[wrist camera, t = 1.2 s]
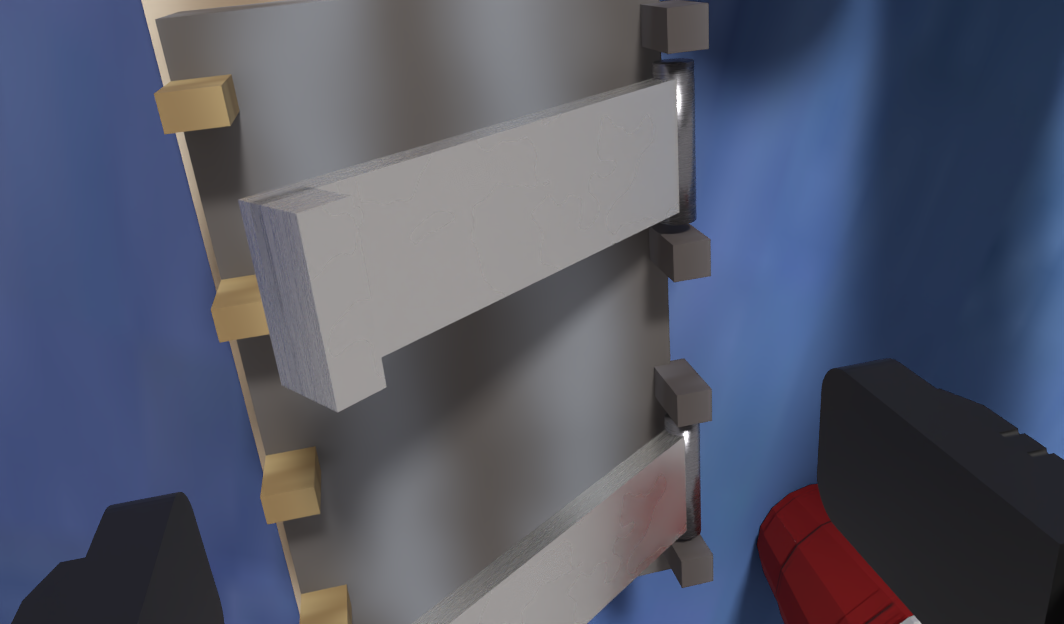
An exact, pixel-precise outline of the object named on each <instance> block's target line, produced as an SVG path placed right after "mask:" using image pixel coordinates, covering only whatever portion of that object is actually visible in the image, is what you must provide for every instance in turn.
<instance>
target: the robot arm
mask: <svg viewBox="0 0 1064 624" xmlns="http://www.w3.org/2000/svg"><path fill="white" fill-rule="evenodd" d="M817 481H818V488H819V493H820V497H821V500H822V503H823V506H824V508H825V511H826V513H827V515H828V517H829V518H830V520H831V521H832V523H833V524H834V525H835V527H836V528H837V529H838V530H839V531H840V532H841V534H842V535H843V536H844V537H845V538H846V539H847V540H848V541H849V543H850V544H851V545H852V546H853V547H854V548H855V549H856V550H857V552H858V553H859V554H860V555H861V556H862V557H863V558H864V559H865V561H866V562H867V563H868V564H869V565H870V566H871V567H872V569H873V570H874V571H875V572H876V573H877V574H878V575H879V576H880V578H881V579H882V580H883V581H884V582H885V583H886V584H887V585H888V587H889V588H890V589H891V590H892V591H893V592H894V593H895V594H896V596H897V597H898V598H899V599H900V600H901V601H902V602H903V603H904V605H905V606H906V607H907V608H908V609H909V610H910V611H911V612H912V614H913V615H914V616H915V617H916V618H917V619H918V620H919V621H920V623H921V624H1064V460H1063V459H1062V458H1060V457H1059V456H1057V455H1056V454H1054V453H1053V454H1048V453H1047V450H1046V448H1045V447H1044V446H1043V445H1041V444H1040V443H1038V442H1037V441H1035V440H1034V439H1032V438H1031V437H1029V436H1028V435H1026V434H1025V433H1024V434H1019V432H1018V428H1016V427H1015V426H1013V425H1012V424H1010V423H1009V422H1007V421H1006V420H1004V419H1003V418H1002V417H1000V416H999V415H997V414H996V413H994V412H993V411H991V410H990V409H988V408H987V407H985V406H984V405H982V404H979V403H976V402H974V401H971V400H968V399H966V398H963V397H961V396H958V395H955V394H953V393H950V392H947V391H945V390H942V389H936V388H935V387H933V386H932V385H931V384H929V383H928V382H926V381H925V380H923V379H922V378H921V377H919V376H918V375H916V374H915V373H914V372H912V371H911V370H909V369H908V368H907V367H905V366H904V365H902V364H901V363H900V362H898V361H896V360H894V359H891V358H885V359H880V360H875V361H870V362H865V363H859V364H854V365H849V366H844V367H838V368H834V369H831V370H829V371H828V372H827V374H826V375H825V377H824V379H823V383H822V391H821V410H820V429H819V448H818V467H817ZM11 624H224V617H223V611H222V606H221V602H220V598H219V595H218V592H217V588H216V585H215V582H214V578H213V575H212V572H211V569H210V565H209V562H208V559H207V555H206V552H205V549H204V545H203V542H202V539H201V536H200V532H199V529H198V526H197V522H196V519H195V516H194V512H193V509H192V506H191V504H190V502H189V500H188V498H187V496H186V495H185V494H184V493H182V492H177V493H172V494H167V495H161V496H156V497H151V498H146V499H140V500H135V501H130V502H125V503H120V504H114V505H110V506H109V507H108V508H107V509H106V510H105V512H104V514H103V516H102V519H101V521H100V524H99V526H98V528H97V531H96V533H95V536H94V538H93V540H92V543H91V545H90V548H89V550H88V552H87V555H86V557H85V558H80V559H75V560H70V561H65V562H60V563H59V564H58V565H57V566H56V567H55V568H54V569H53V570H52V571H51V572H50V573H49V574H48V575H47V576H46V577H45V578H44V579H43V580H42V581H41V582H40V583H39V584H38V585H37V586H36V588H35V589H34V590H33V591H32V592H31V593H30V594H29V595H28V596H27V597H26V598H25V599H24V600H23V601H22V603H21V605H20V607H19V609H18V611H17V613H16V615H15V617H14V619H13V621H12V623H11Z"/></svg>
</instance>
